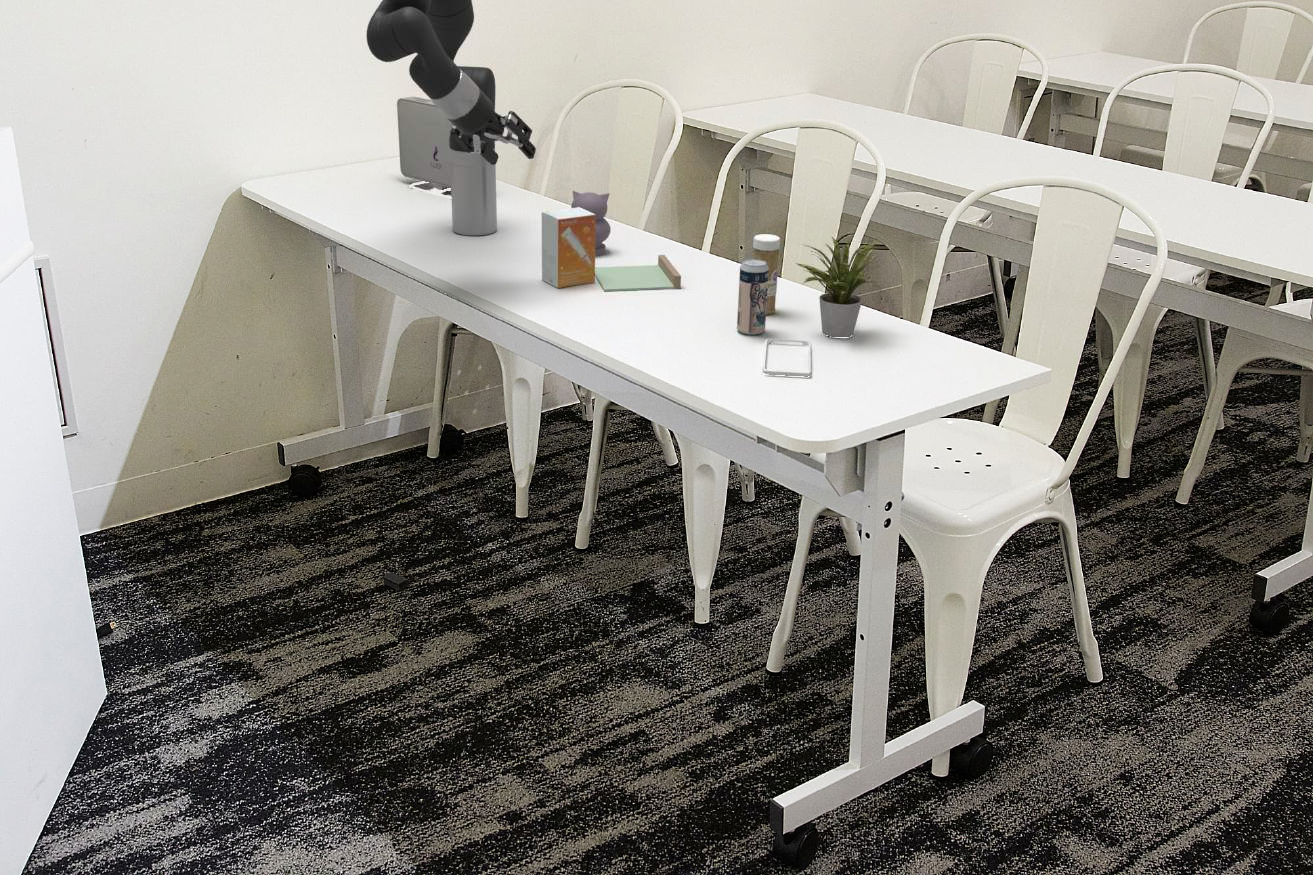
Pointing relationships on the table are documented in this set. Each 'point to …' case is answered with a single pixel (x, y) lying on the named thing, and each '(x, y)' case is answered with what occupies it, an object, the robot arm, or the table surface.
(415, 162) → the network device
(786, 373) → the white phone case
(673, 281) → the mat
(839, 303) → the house plant
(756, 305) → the beer can
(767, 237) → the sprinkles bottle
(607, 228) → the cat figurine
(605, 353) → the table surface
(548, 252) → the small box
